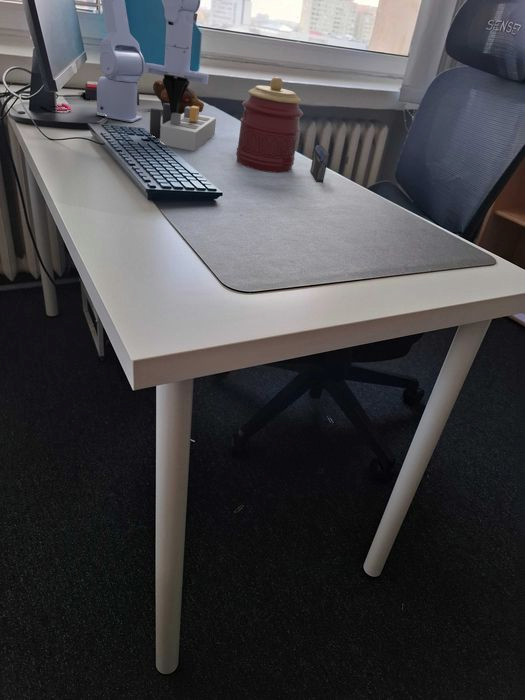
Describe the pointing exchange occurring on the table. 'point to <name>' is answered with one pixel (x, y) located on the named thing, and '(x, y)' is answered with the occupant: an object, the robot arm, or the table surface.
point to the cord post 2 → (166, 113)
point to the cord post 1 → (155, 122)
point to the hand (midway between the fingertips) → (174, 112)
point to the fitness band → (64, 106)
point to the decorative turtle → (187, 99)
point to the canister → (269, 128)
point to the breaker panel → (187, 131)
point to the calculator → (92, 91)
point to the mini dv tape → (319, 163)
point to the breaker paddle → (194, 113)
